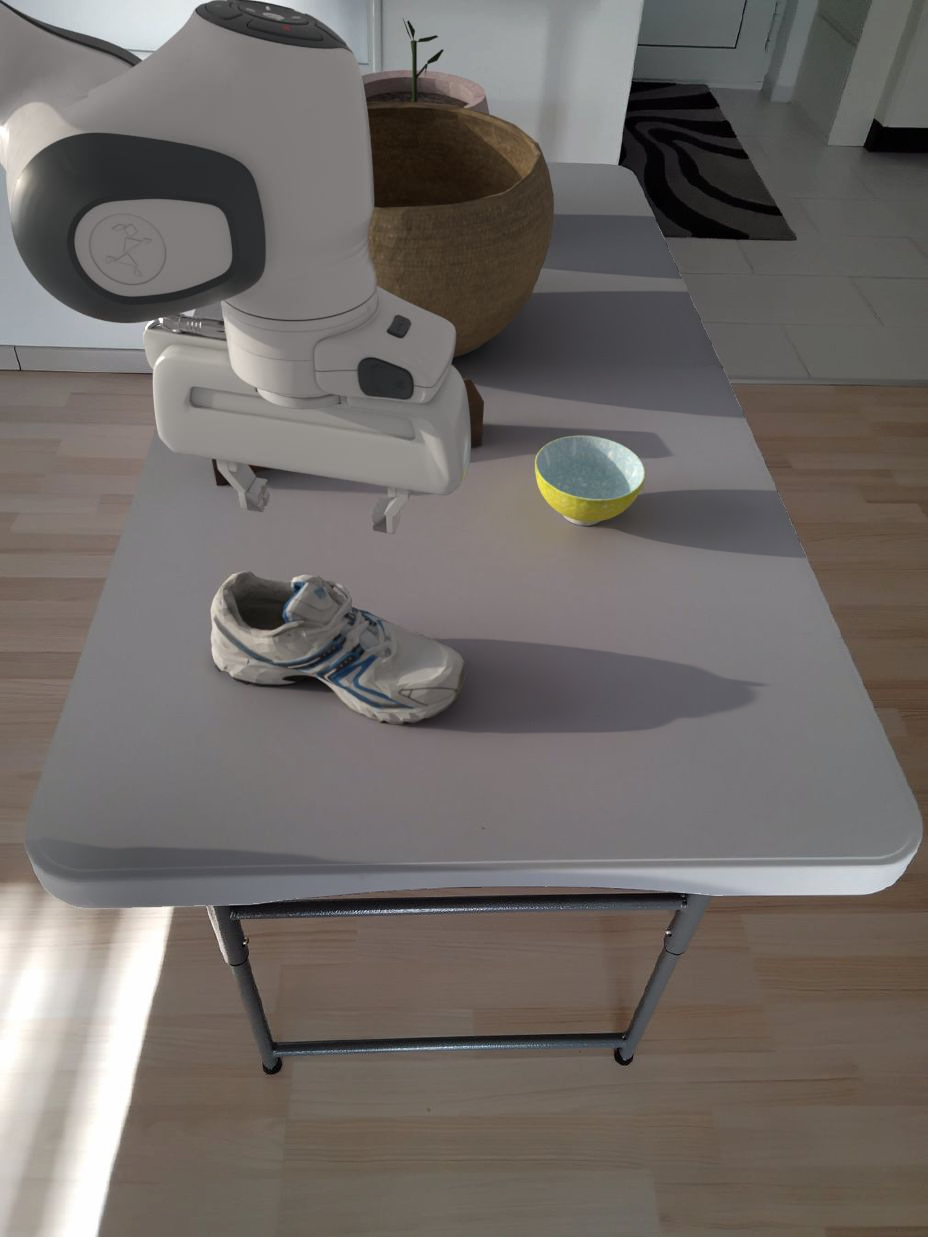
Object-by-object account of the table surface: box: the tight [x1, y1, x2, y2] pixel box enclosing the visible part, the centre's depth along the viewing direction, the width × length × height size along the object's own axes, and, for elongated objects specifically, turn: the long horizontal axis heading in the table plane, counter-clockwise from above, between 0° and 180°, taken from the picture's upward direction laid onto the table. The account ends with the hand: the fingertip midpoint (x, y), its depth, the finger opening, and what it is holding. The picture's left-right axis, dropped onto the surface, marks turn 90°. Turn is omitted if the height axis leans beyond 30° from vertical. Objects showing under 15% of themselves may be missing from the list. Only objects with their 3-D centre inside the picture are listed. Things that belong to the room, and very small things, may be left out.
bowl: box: [534, 435, 647, 527], centre depth 97 cm, size 11×12×6 cm
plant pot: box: [361, 17, 490, 115], centre depth 138 cm, size 24×24×30 cm
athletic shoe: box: [210, 570, 467, 725], centre depth 79 cm, size 10×23×12 cm, turn 83°
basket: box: [366, 101, 555, 358], centre depth 117 cm, size 35×35×25 cm
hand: (320, 516), depth 64 cm, fingers open, 8 cm apart
